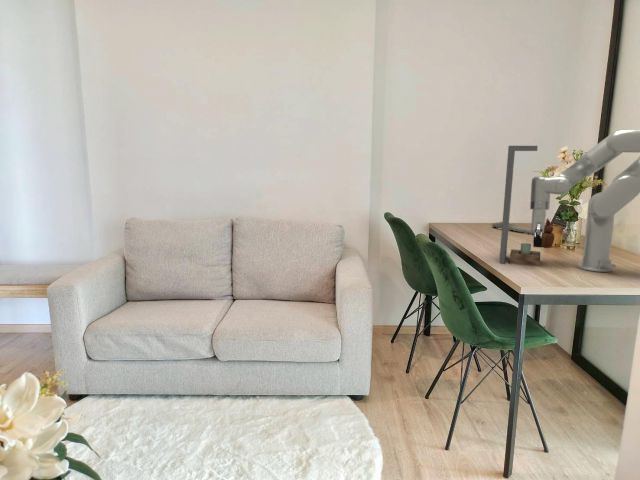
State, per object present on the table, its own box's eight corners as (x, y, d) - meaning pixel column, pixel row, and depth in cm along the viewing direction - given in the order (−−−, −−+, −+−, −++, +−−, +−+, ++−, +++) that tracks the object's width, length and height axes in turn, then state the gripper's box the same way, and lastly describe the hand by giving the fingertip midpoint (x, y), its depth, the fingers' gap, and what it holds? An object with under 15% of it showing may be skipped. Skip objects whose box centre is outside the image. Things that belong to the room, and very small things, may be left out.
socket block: (539, 260, 214) (540, 251, 213) (539, 266, 203) (540, 256, 202) (510, 257, 219) (511, 249, 218) (509, 263, 208) (510, 254, 207)
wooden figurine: (544, 248, 242) (547, 218, 240) (536, 246, 248) (539, 217, 245) (555, 247, 244) (558, 218, 241) (547, 245, 250) (550, 216, 247)
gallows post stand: (527, 258, 218) (537, 146, 209) (526, 265, 203) (537, 145, 194) (501, 256, 222) (510, 146, 213) (499, 263, 208) (508, 145, 199)
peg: (531, 262, 210) (533, 244, 208) (523, 263, 208) (525, 245, 207) (525, 260, 213) (526, 243, 212) (517, 261, 212) (519, 243, 211)
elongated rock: (534, 238, 279) (545, 238, 284) (536, 229, 278) (547, 229, 283) (487, 227, 308) (497, 227, 313) (488, 219, 307) (499, 219, 312)
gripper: (530, 203, 214) (528, 241, 217) (530, 207, 199) (527, 248, 201) (548, 204, 211) (546, 242, 214) (550, 208, 196) (547, 249, 198)
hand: (537, 245), depth 208 cm, fingers open, 9 cm apart
